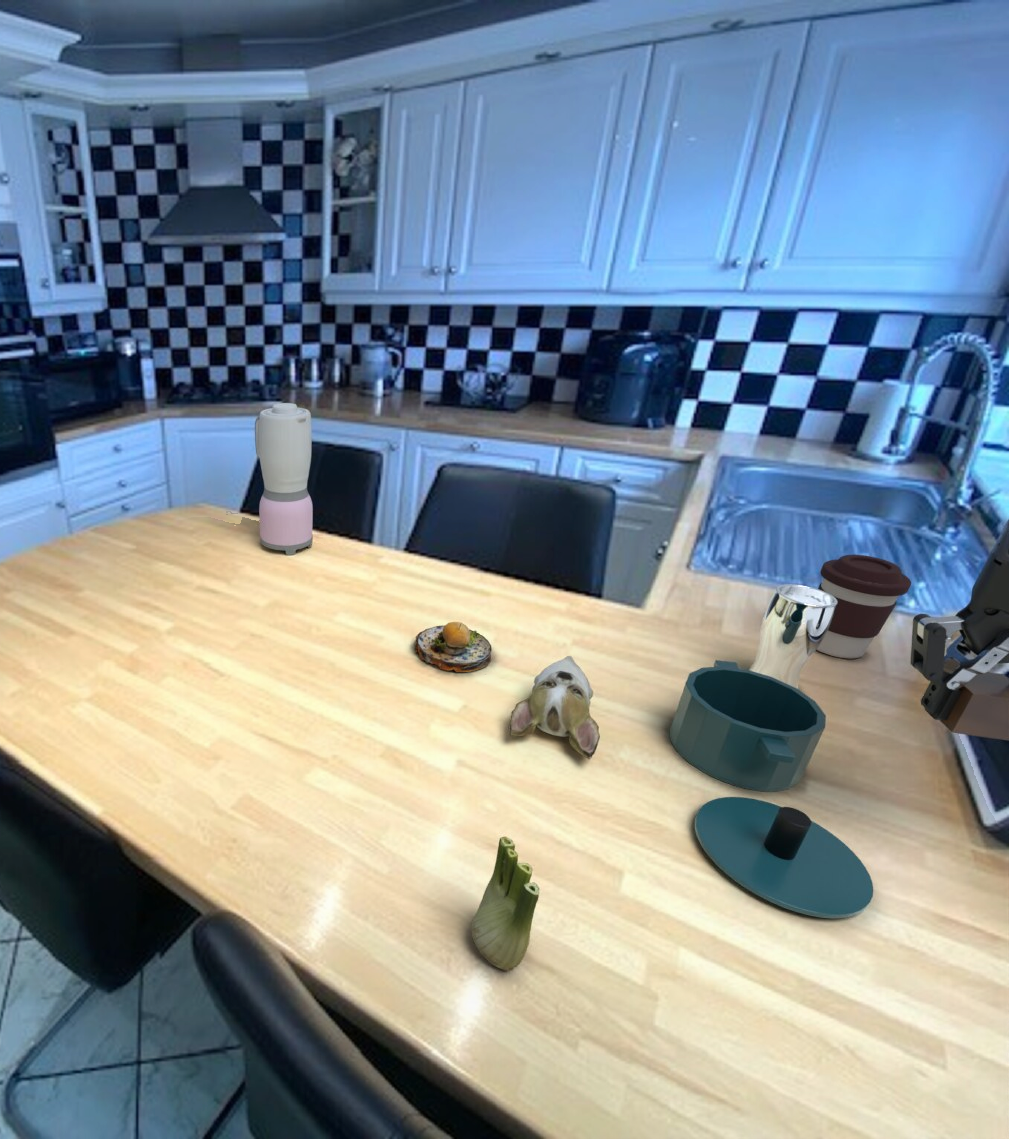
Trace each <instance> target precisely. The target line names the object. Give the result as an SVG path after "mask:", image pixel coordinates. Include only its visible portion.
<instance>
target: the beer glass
mask: <svg viewBox="0 0 1009 1139" xmlns="http://www.w3.org/2000/svg"><path fill="white" fill-rule="evenodd" d="M837 603H838V601H837V599H836V598H835V597H834V596H832V595H830V594H829V593H827V592H824V591H822V590H819V589H818V588H816V587H812V586H808V585H803V584H794V583H792V584H791V583H788V584H786V583H785V584H781V585H780V584H779V585H778V586H777V587H776V588H775V591H774V593H773V595H772V597H771V599H770V601H769V603H768V604H767V607H766V610H765V612H764V615H763V618H762V621H761V626H760V631H759V639H758V647H757V653H756V656H755V658H754V661H753V663H752V664H751V665H750V667H749V668H748V670H750V671H753V672H757V673H760V674H763V675H767V676H770V677H773V678H775V679H777V680H779V681H782V682H784V683H786V684H788V685H790V686H793V687H795V688H797V689H798V690H799V685H800V684H799V683H800V678H801V675H802V671H803V670H804V667H805V666H806V665H807V663H808V662H809V660H810V659H811V658H812V656H813V655H814V653H815V652H816V651H817V650H816V649H817V648H818V647H819V645H820V644H821V642H822V641H823V639H824V637H825V635H826V633H827V631H828V629H829V626H830V624H831V621H832V618H833V615H834V611H835V608H836V605H837Z"/></svg>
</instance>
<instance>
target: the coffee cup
mask: <svg viewBox="0 0 1009 1139" xmlns="http://www.w3.org/2000/svg"><path fill="white" fill-rule="evenodd" d="M819 573H820V576H821V577H822V582H821V583H820V584H818V588H817V589H819V590H822V591H824V592H827V593H829V594H830V595H832V596H834V597H835V598H836V599H837V601H838V603H837V605H836V608H835V611H834V615H833V618H832V621H831V624H830V626H829V629H828V631H827V633H826V635H825V637H824V639H823V641H822V642H821V644H820V645H819V647H818V648H817V649H816V651H818V652H820V653H823V654H825V655H828V656H832V657H836V658H840V659H858V658H861V657H863V656H864V655H865V654H866V652H867V650H868V649H869V647H870V645H871V644H872V642H873V640H874V639H875V637H877V636H879V634H880V633H881V630H882V629H883V627H884V626H885V624H886V623H887V621H888V619H889V617H890V615H891V614H892V612H893V610H894V609H895V607H896V606H897V600H898V598H899V597H900V596H903V595H906V594H907V593H908V592H909V590H910V588H911V585H912V581H911V579H910V578H909V577H908V576H907V575H905V574H904V573H902V569H901V567H900V566H899V565H898V564H895V563H893V562H892V561H890V560H886V559H883V558H880V557H876V556H870V555H865V554H864V555H863V554H844V555H841V556H840V557H839V558H838V559H830V560H827V561H825V562H824V563H823V564H822V566H821V569H820V572H819Z"/></svg>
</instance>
